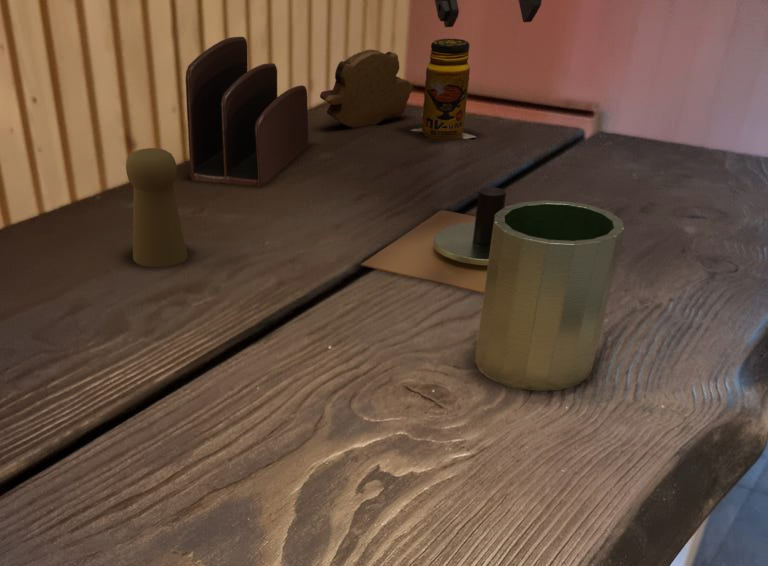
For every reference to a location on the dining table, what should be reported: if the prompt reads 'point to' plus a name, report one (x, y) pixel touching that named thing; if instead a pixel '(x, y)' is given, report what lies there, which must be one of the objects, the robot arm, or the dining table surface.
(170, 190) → the pepper shaker
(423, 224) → the cork mat
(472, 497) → the dining table surface
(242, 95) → the letter holder
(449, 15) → the robot arm
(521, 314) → the green cylindrical container
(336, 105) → the wooden carving
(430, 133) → the condiment
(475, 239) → the lid
